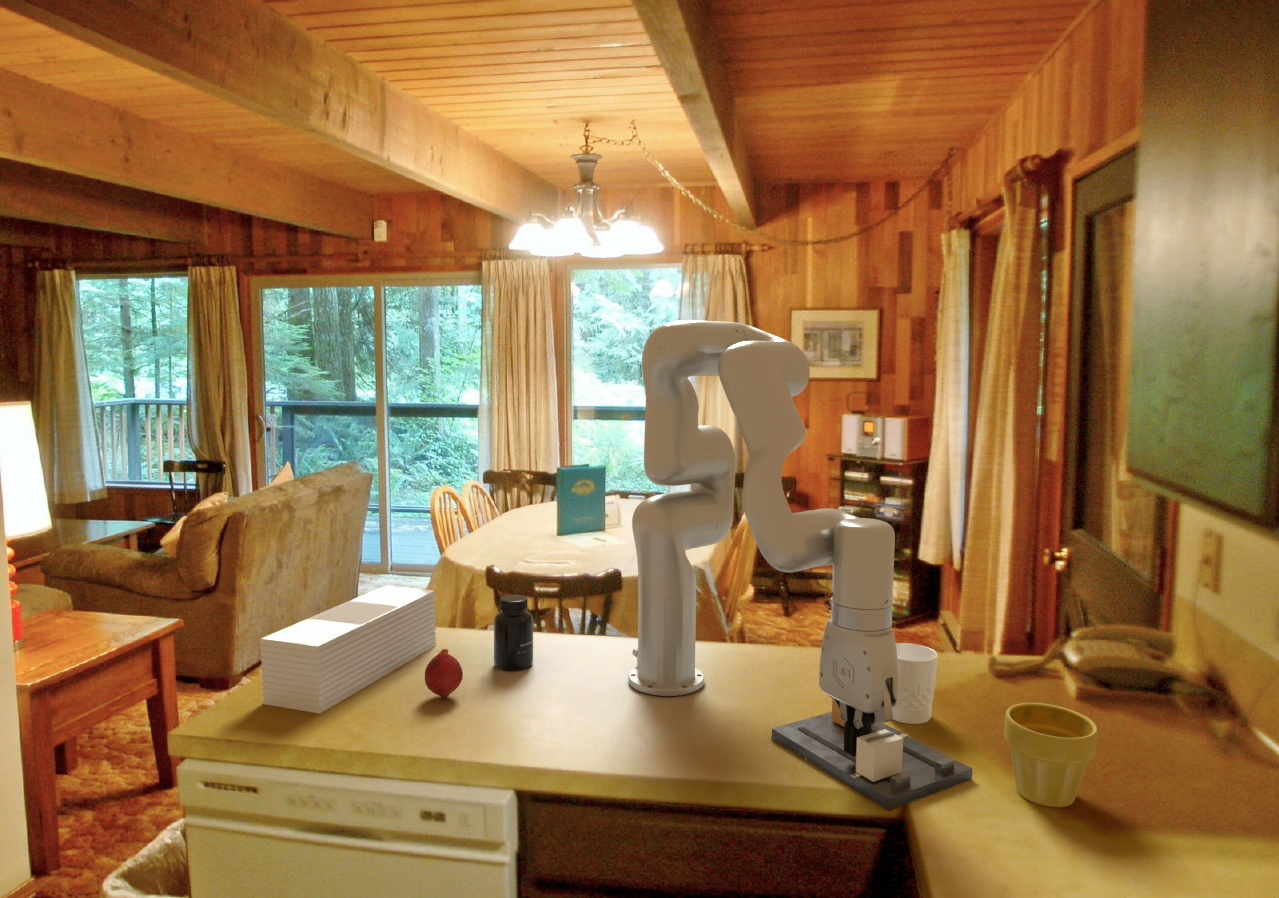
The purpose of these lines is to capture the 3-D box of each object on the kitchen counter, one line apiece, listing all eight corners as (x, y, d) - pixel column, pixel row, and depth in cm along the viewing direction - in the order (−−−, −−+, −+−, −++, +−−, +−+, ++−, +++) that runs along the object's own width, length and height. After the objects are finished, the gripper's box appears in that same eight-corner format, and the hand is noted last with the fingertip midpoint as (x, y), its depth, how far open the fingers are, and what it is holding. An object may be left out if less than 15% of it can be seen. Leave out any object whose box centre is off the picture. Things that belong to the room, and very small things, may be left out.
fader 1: (831, 719, 123) (832, 688, 122) (857, 712, 125) (858, 681, 125) (846, 727, 120) (847, 695, 119) (872, 720, 122) (873, 688, 122)
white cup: (938, 728, 124) (941, 662, 123) (882, 723, 125) (885, 658, 124) (931, 706, 132) (933, 644, 130) (878, 702, 133) (880, 641, 132)
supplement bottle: (530, 672, 145) (529, 603, 144) (490, 671, 145) (489, 603, 144) (535, 657, 152) (535, 592, 150) (497, 657, 152) (497, 592, 151)
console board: (771, 738, 120) (771, 720, 120) (849, 716, 128) (850, 699, 128) (888, 810, 101) (889, 788, 101) (971, 779, 109) (973, 759, 109)
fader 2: (855, 771, 107) (856, 735, 107) (884, 762, 110) (885, 726, 109) (873, 781, 105) (874, 744, 104) (901, 771, 107) (903, 735, 107)
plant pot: (1112, 811, 102) (1118, 733, 100) (1036, 820, 99) (1041, 741, 98) (1053, 770, 112) (1058, 698, 111) (983, 777, 109) (987, 705, 108)
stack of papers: (319, 715, 128) (317, 646, 127) (263, 705, 131) (259, 638, 130) (435, 646, 158) (434, 590, 157) (387, 640, 161) (385, 585, 160)
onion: (436, 708, 130) (434, 657, 129) (418, 696, 134) (417, 647, 133) (469, 698, 134) (468, 649, 133) (451, 687, 138) (450, 639, 137)
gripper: (800, 604, 113) (796, 736, 115) (884, 636, 100) (878, 783, 102) (841, 597, 117) (837, 724, 119) (928, 626, 104) (922, 768, 106)
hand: (856, 751), depth 111 cm, fingers closed
